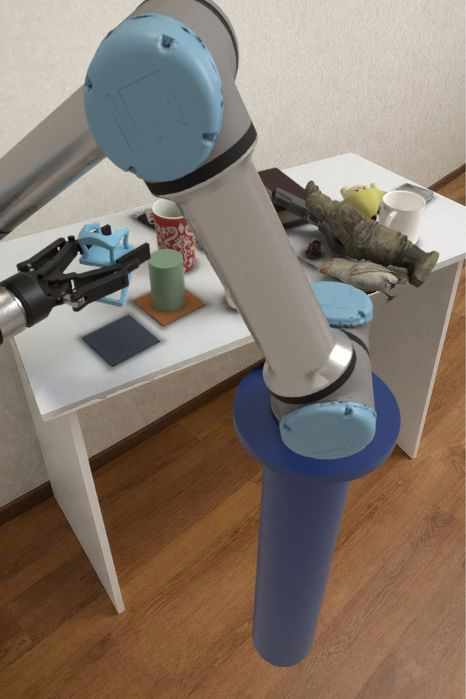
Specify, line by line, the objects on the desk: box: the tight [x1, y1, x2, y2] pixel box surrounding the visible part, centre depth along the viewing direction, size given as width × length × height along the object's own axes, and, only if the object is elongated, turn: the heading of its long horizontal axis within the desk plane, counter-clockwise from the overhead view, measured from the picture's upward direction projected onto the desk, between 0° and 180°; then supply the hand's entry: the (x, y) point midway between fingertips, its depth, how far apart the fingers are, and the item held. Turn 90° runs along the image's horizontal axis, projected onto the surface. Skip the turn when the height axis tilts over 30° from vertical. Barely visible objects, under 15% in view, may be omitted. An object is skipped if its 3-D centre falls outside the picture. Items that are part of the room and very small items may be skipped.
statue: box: [304, 180, 440, 288], centre depth 119 cm, size 11×9×30 cm
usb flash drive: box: [132, 207, 155, 230], centre depth 138 cm, size 9×5×1 cm, turn 45°
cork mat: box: [132, 288, 206, 327], centre depth 114 cm, size 10×10×1 cm
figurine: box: [297, 237, 323, 269], centre depth 125 cm, size 5×8×4 cm
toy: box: [339, 182, 389, 221], centre depth 137 cm, size 13×7×15 cm
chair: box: [76, 221, 135, 308], centre depth 94 cm, size 8×8×12 cm
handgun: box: [271, 187, 348, 258], centre depth 127 cm, size 3×19×12 cm
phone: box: [377, 182, 435, 214], centre depth 144 cm, size 8×16×1 cm, turn 140°
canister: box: [147, 249, 186, 312], centre depth 111 cm, size 6×6×10 cm
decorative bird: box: [318, 257, 409, 305], centre depth 117 cm, size 5×16×7 cm
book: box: [196, 167, 310, 242], centre depth 137 cm, size 28×20×6 cm
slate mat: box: [82, 313, 161, 367], centre depth 106 cm, size 10×10×1 cm
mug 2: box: [377, 190, 427, 245], centre depth 128 cm, size 12×9×9 cm
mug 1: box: [151, 198, 197, 273], centre depth 121 cm, size 13×9×14 cm
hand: (128, 240), depth 97 cm, fingers closed on chair, 8 cm apart
